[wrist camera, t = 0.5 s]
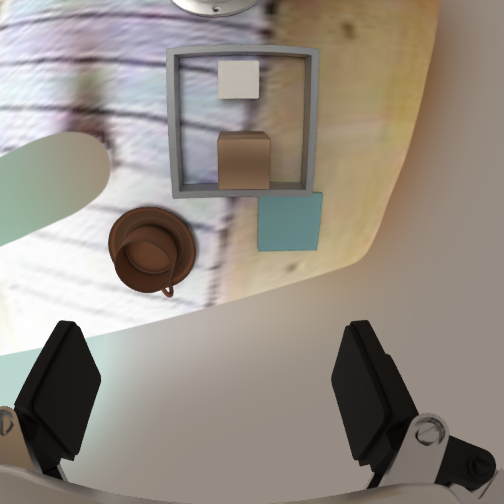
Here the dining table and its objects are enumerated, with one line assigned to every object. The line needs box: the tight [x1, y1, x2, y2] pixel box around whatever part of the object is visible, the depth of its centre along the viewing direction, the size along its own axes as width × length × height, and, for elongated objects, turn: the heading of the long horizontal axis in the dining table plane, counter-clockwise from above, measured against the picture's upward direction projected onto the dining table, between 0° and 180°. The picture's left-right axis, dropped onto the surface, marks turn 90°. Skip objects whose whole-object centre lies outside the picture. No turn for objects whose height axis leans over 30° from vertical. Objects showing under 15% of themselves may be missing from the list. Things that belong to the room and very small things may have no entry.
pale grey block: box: [218, 61, 259, 99], centre depth 29 cm, size 4×4×5 cm
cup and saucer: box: [108, 207, 196, 297], centre depth 38 cm, size 12×12×6 cm
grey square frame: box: [166, 44, 319, 199], centre depth 32 cm, size 17×16×3 cm
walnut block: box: [217, 131, 271, 190], centre depth 32 cm, size 5×5×7 cm
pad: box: [258, 192, 323, 251], centre depth 39 cm, size 8×8×1 cm
